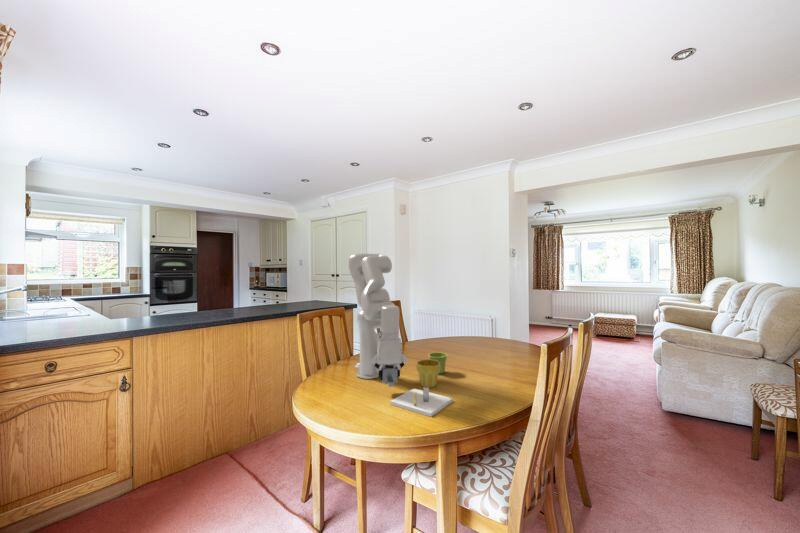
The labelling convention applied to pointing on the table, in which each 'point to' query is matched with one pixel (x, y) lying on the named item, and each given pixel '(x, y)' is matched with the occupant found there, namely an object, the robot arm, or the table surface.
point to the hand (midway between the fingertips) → (389, 378)
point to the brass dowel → (415, 399)
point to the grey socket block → (389, 374)
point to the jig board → (421, 402)
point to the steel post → (426, 394)
